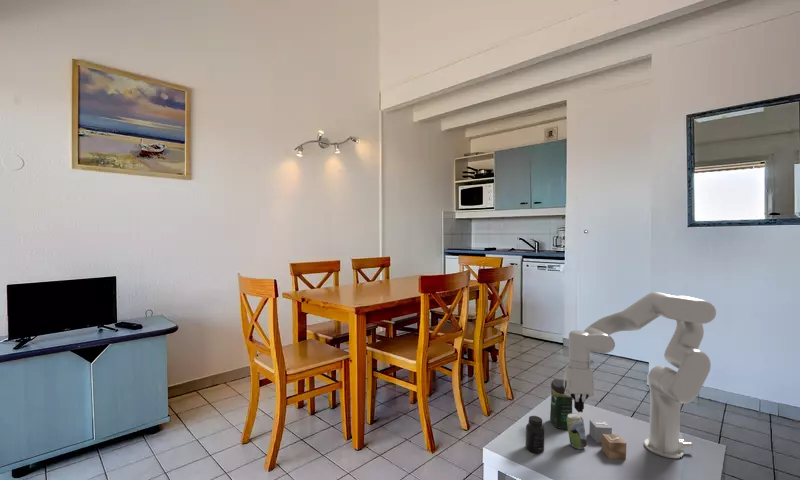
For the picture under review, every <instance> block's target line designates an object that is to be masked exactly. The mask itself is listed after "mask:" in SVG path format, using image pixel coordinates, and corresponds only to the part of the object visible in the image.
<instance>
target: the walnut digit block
mask: <svg viewBox="0 0 800 480" xmlns="http://www.w3.org/2000/svg"><path fill="white" fill-rule="evenodd" d="M601 450H602V452H604V454H605V455H606V456H607V458H609V459H616V460H617V459H618V460H626V459H627V442H626V441H625V440H624V439H623V438H622V437H621V436H620V435H619V434H615V433H614V434H613V433H612V434H602V442H601Z"/></svg>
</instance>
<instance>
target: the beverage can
mask: <svg viewBox="0 0 800 480" xmlns="http://www.w3.org/2000/svg"><path fill="white" fill-rule="evenodd" d="M567 416H568V417H567V419H566V420H567V426H568V429H567V431H568V433H567V434H568V438H569V443H570V446H572V447H573V448H575V449H578V450H580V449H581V450H583V449H585V448H586V447H587V446H588V442H587V440H588V439H587V434H586V428H585V423H584V418H583V417H582V415H581V414H579V413H576V412H574V413H573V412H572V413H571V414H568V415H567Z"/></svg>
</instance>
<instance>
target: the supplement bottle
mask: <svg viewBox="0 0 800 480" xmlns="http://www.w3.org/2000/svg"><path fill="white" fill-rule="evenodd" d="M545 429H546V428H545V427H544V426H543V419H542V418H541V417H540V416H537V415H530V416H529V417H528V422H527V424H526V425H525V444H524V445H525V449H526V450H527V451H528V453H531V454H534V455H541V454H543V453H544V452H545V436H546V432H545V431H546V430H545Z"/></svg>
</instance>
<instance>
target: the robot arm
mask: <svg viewBox="0 0 800 480" xmlns="http://www.w3.org/2000/svg"><path fill="white" fill-rule="evenodd" d="M716 315H717V310H716V308H715V306H714V305H713V304H712V303H711V302H710V301H707V300H704V299H701V298H696V297H693V296H692V297H691V296H687V295H683V294H682V295H671V294H668V293H664V292H659V291H651V292H649V293H648V294H646V295H645V296H643V297H642V298H639V299H638V300H637V301H635V302H634V303H632V304H631V305H630V306H627V308H625V309H624V310H622V311H619V312H615V313H612V314H610V315H607V316H603V317H602V318H600V319H598V320H596V321H593V323H591V324H590V325H589V326H587V327H586V328H585V329H584V330H571V331H570V332H569V333H568V364H566V366H565V370H564V376H563V380H564V388H565V392H564V394H565V395H566V396H570V397H572V398H573V400H574V401H573V402H574V403H573V408H574V409H575V410H576V411H577V413H583V411H584V409H585V402H586V400H587V399H588V398H592V397H594V395H595V394H594V393H595V380H594V372H593V369H592V365H594V360H591V353H592V352H593V353H598V354H609V353H611V352H612V351H614V349H615V346H616V342H615V340H614V339H613V338H612V336H611V335H613V334H616V333H619V332H631V331H639V330H641V329H642V328H644V327H645V326H647V325H649V324H650V323H652V322H653V321H654V320H656V319H657V318H659V317H662V318H666V319H670V320H674V321H676V326H675V327H676V328H675V330H674V332H673V335H672V337H671V339H670V340H669V343H668V344H667V346H666V349H665V351H664V354H663V356H664V360H665V361H666V362H667V363H669V364H670V365H671V366H673V367H675V368H676V369H677V371H676V370H674V369H672V368H670V367H667V366H664V365H656V366H654V367H652V368H651V369H650V370H649V372H648V379H647V380H648V386H649V393H650V394H649V395H650V398H649V399H650V401H649V403H650V404H649V429H648V431H649V433H648V438H646V439H644V441H643V444H644V447H645V448H646V449H648V451H650V452H651V453H653V454H655V455H657V456H661V457H663V458H669V459H681V458H683V457H684V456H683V455H685V452H684V450H683V449H685V448H687V449H692V448H693V446H694V445H693V443H692V442H689V441H685V440H684V439H681V438H680V429H681V428H680V427H681V426H680V425H681V422H680V421H681V404H689V403H692V402H693V401H694V400H695V399H696V398H697V396H698V395H699V393H700V391H701V389H702V387H703V385H704V384H705V381H706V380H707V378H708V376H709V374H710V372H711V360H710V357H709V356H708V355H707V354H706V353H705V352H704V351H703V350H701V349H699V347H700V346H701V343H702V340H703V338H704V332H705V331H704V330H705V329H704V324H709V323H711V322H713V320H714V319H715V317H716ZM682 456H683V457H682ZM680 457H681V458H680Z"/></svg>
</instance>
